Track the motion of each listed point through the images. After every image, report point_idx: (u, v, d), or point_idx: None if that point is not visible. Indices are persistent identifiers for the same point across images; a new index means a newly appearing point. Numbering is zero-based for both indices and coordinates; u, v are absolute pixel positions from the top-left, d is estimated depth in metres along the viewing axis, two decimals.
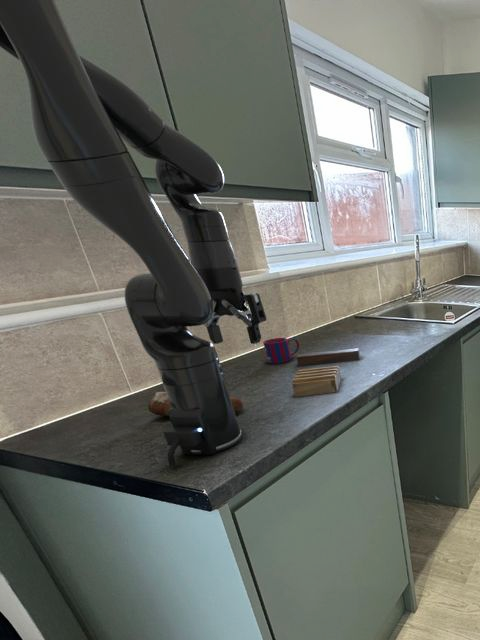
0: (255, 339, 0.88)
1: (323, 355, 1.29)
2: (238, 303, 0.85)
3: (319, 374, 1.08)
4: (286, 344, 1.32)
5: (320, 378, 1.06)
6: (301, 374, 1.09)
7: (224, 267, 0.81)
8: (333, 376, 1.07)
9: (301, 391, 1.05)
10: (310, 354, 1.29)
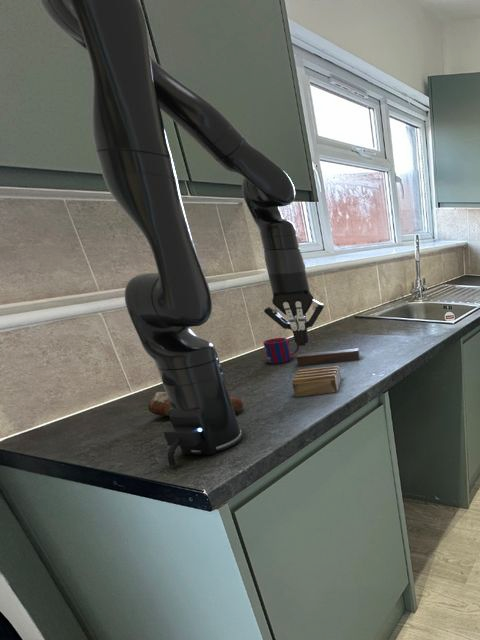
0: (306, 341, 0.98)
1: (323, 355, 1.29)
2: (309, 303, 0.95)
3: (319, 374, 1.08)
4: (286, 344, 1.32)
5: (320, 378, 1.06)
6: (301, 374, 1.09)
7: (300, 271, 0.92)
8: (333, 376, 1.07)
9: (301, 391, 1.05)
10: (310, 354, 1.29)
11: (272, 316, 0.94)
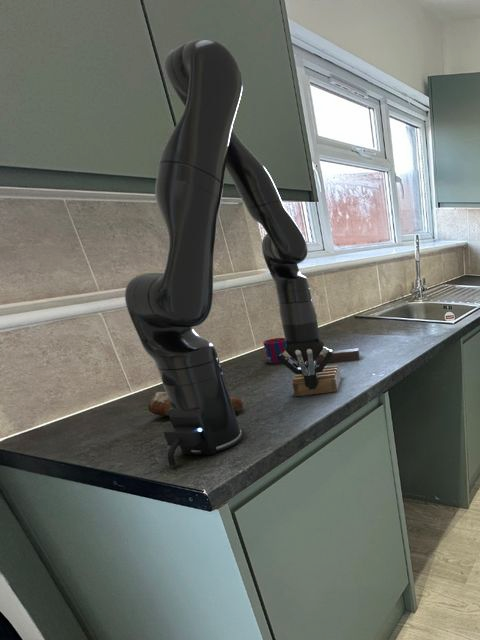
0: (316, 385, 1.04)
1: None
2: (319, 350, 1.01)
3: (319, 373, 1.08)
4: None
5: (320, 377, 1.06)
6: None
7: (312, 322, 0.98)
8: (333, 375, 1.07)
9: (301, 390, 1.05)
10: None
11: (284, 362, 1.00)
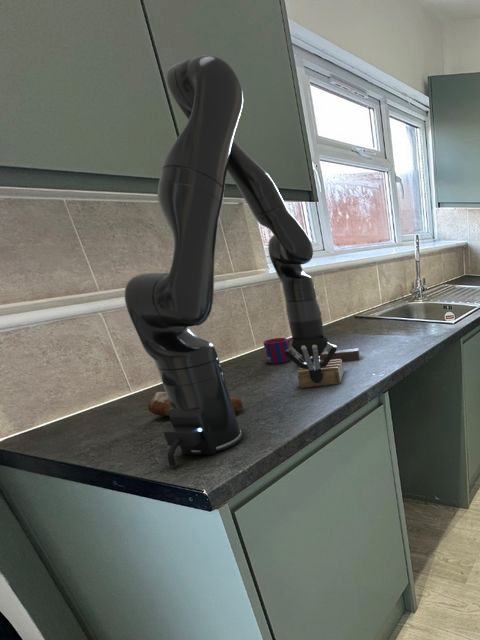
0: (320, 379, 1.10)
1: (323, 355, 1.29)
2: (324, 346, 1.07)
3: None
4: (286, 344, 1.32)
5: (324, 370, 1.12)
6: None
7: (317, 319, 1.03)
8: (336, 368, 1.12)
9: (306, 382, 1.11)
10: None
11: (291, 358, 1.05)
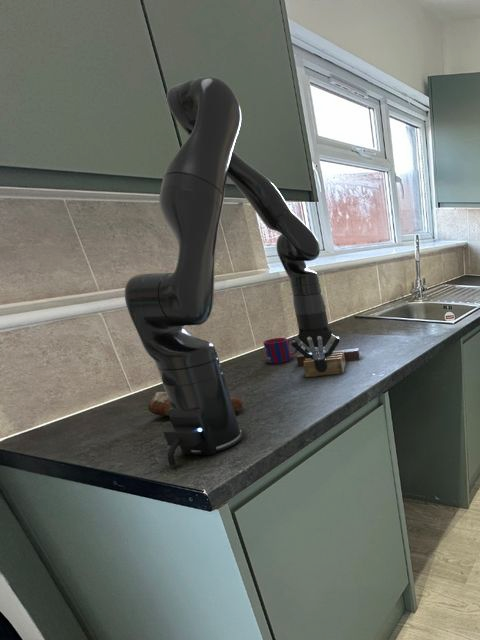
0: (325, 368, 1.17)
1: None
2: (328, 337, 1.15)
3: (327, 357, 1.21)
4: (286, 344, 1.32)
5: (328, 361, 1.20)
6: None
7: (322, 312, 1.11)
8: (339, 359, 1.20)
9: (311, 372, 1.18)
10: None
11: (297, 348, 1.13)
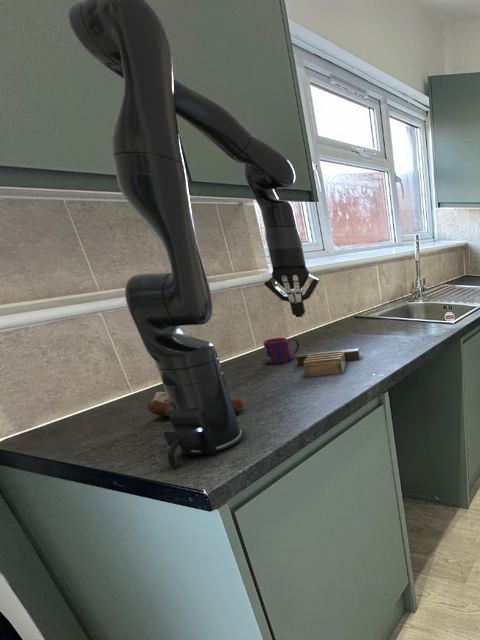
0: (302, 313, 1.08)
1: None
2: (305, 277, 1.05)
3: (327, 357, 1.21)
4: (286, 344, 1.32)
5: (328, 361, 1.20)
6: (311, 357, 1.22)
7: (297, 247, 1.01)
8: (339, 359, 1.20)
9: (311, 372, 1.18)
10: None
11: (271, 288, 1.04)
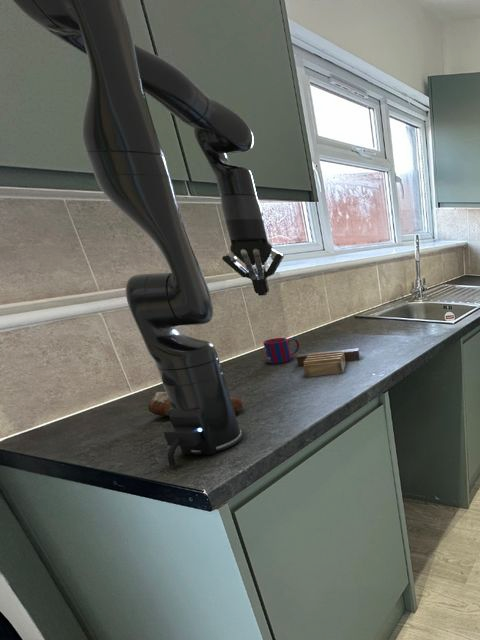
0: (265, 291, 1.00)
1: None
2: (267, 252, 0.97)
3: (327, 357, 1.21)
4: (286, 344, 1.32)
5: (328, 361, 1.20)
6: (311, 357, 1.22)
7: (257, 218, 0.93)
8: (339, 359, 1.20)
9: (311, 372, 1.18)
10: None
11: (230, 264, 0.95)
